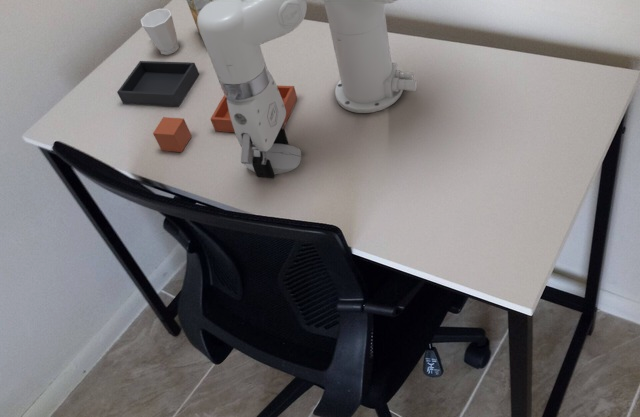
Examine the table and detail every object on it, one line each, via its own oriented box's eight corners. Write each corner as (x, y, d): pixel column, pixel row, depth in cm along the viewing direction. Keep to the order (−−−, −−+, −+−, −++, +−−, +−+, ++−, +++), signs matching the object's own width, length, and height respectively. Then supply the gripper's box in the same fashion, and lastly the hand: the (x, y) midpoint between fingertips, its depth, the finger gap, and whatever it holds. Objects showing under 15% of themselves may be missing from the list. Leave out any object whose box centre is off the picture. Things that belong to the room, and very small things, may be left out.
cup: (165, 62, 139) (151, 30, 133) (141, 48, 145) (126, 17, 139) (190, 45, 142) (177, 13, 136) (165, 32, 148) (152, 0, 142)
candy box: (197, 31, 145) (173, -32, 134) (214, 24, 146) (191, -40, 134) (210, 49, 139) (185, -15, 128) (227, 41, 140) (205, -23, 129)
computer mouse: (300, 173, 109) (296, 160, 107) (244, 178, 111) (239, 166, 109) (303, 148, 113) (299, 136, 111) (248, 154, 115) (244, 142, 113)
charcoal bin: (199, 74, 134) (194, 62, 132) (178, 106, 128) (173, 95, 126) (145, 72, 138) (139, 60, 136) (123, 103, 132) (116, 92, 130)
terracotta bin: (297, 98, 122) (294, 86, 120) (279, 135, 116) (275, 123, 114) (235, 95, 127) (230, 83, 125) (215, 131, 121) (210, 119, 119)
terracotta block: (191, 135, 121) (183, 118, 118) (182, 152, 119) (173, 134, 116) (171, 134, 123) (163, 116, 120) (161, 150, 120) (152, 133, 117)
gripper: (246, 118, 92) (276, 201, 105) (285, 44, 102) (308, 128, 115) (200, 115, 95) (235, 196, 108) (243, 43, 105) (270, 125, 118)
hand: (273, 160), depth 111 cm, fingers closed on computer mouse, 6 cm apart
